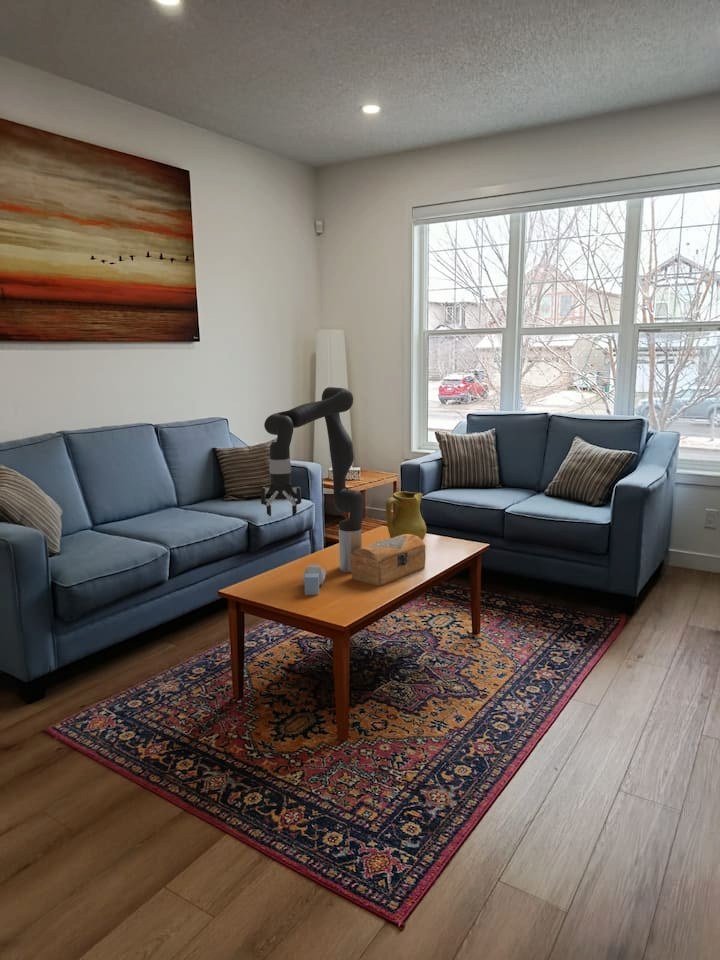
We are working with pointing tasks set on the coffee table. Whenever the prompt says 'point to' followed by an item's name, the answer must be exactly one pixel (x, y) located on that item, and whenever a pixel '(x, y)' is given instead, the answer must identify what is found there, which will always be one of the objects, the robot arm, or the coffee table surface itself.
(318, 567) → the die
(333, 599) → the coffee table surface
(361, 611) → the coffee table surface
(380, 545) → the wooden box
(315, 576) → the block
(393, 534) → the pitcher
